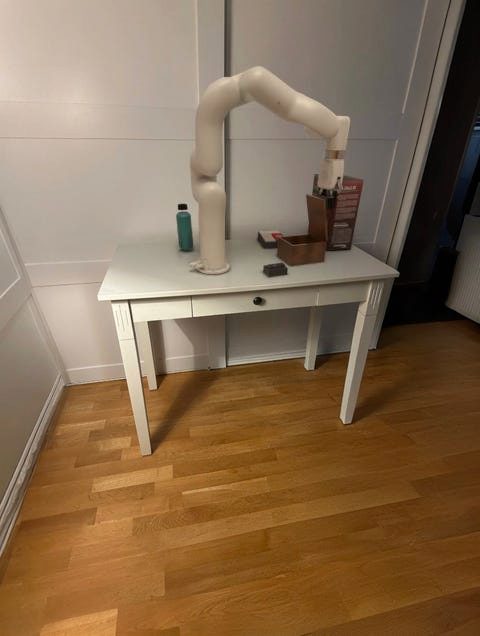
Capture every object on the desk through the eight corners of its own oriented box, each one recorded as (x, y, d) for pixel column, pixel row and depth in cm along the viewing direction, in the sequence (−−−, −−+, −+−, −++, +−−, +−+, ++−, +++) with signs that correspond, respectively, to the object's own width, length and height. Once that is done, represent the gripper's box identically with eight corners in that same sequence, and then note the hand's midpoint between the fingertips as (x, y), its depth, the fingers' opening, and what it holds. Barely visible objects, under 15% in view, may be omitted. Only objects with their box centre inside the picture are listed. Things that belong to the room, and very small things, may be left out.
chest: (290, 266, 124) (292, 245, 120) (276, 256, 135) (278, 237, 130) (323, 261, 129) (327, 242, 125) (308, 252, 139) (310, 233, 135)
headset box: (305, 236, 161) (314, 164, 144) (328, 234, 163) (339, 164, 146) (326, 251, 140) (339, 170, 123) (351, 250, 142) (367, 170, 125)
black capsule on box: (269, 277, 115) (269, 266, 113) (263, 271, 119) (263, 261, 117) (287, 274, 117) (288, 264, 115) (280, 269, 122) (281, 259, 119)
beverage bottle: (195, 252, 138) (192, 204, 128) (180, 253, 136) (176, 206, 126) (191, 247, 143) (188, 201, 133) (177, 249, 141) (173, 202, 131)
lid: (323, 200, 115) (336, 195, 116) (305, 194, 125) (318, 190, 126) (326, 241, 125) (338, 236, 126) (309, 232, 135) (321, 228, 136)
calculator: (264, 240, 141) (257, 230, 153) (264, 249, 143) (257, 238, 155) (288, 239, 142) (279, 229, 155) (287, 248, 145) (278, 237, 157)
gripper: (312, 154, 121) (307, 203, 130) (339, 157, 107) (331, 211, 116) (329, 154, 123) (322, 202, 132) (357, 157, 109) (347, 210, 118)
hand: (326, 206), depth 124 cm, fingers closed on lid, 5 cm apart
